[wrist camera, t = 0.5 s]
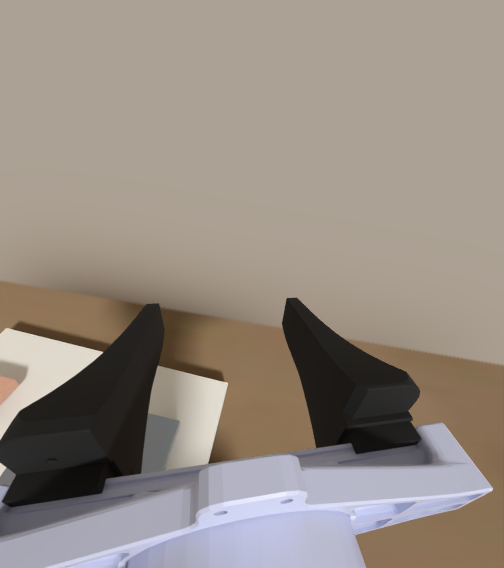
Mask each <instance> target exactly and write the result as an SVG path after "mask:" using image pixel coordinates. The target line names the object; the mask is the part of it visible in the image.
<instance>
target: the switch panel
mask: <svg viewBox="0 0 504 568" xmlns="http://www.w3.org/2000/svg"><path fill="white" fill-rule="evenodd" d="M102 353H103V352H101V351H97V350H93V349H89V348H85V347H81V346H77V345H73V344H69V343H65V342H61V341H57V340H53V339H49V338H45V337H40V336H36V335H32V334H28V333H24V332H20V331H16V330H12V329H8V328H6V329H5V330H4V331H3V332H2V333H1V334H0V376H2V377H6V378H10V379H14V380H16V381H17V383H18V384H19V386H18V387H17V388H16V389H15V390H14V391H13V392H12V393H11V394H10V395H9V396H8V397H7V398H6V400H5V401H4V402H3V403H2V404H1V405H0V440H1V438H2V436H3V435H4V433H5V432H6V430H7V428H8V427H9V425H10V424H11V422H12V421H13V419H14V418H15V416H16V415H17V414H18V412H19V411H20V410H22V409H23V408H25V407H27V406H28V405H30V404H32V403H33V402H35V401H37V400H38V399H40V398H42V397H43V396H45V395H47V394H48V393H50V392H51V391H53V390H55V389H56V388H58V387H59V386H61V385H62V384H64V383H65V382H66V381H68V380H69V379H71V378H72V377H74V376H75V375H76V374H78V373H79V372H80V371H81V370H83V369H84V368H85V367H87V366H88V365H89V364H90V363H92V362H93V361H94V360H95V359H96V358H98V357H99V356H100V355H101V354H102ZM227 386H228V383H226V382H222V381H218V380H214V379H209V378H205V377H201V376H197V375H193V374H189V373H185V372H181V371H177V370H173V369H169V368H165V367H161V366H158V367H157V370H156V374H155V378H154V382H153V386H152V391H151V397H150V404H149V410H148V414H149V413H150V414H154V415H158V416H162V417H166V418H170V419H174V420H178V421H180V427H179V430H178V432H177V435H176V438H175V441H174V443H173V446H172V449H171V452H170V454H169V457H168V460H167V463H166V465H165V468H164V470H170V469H177V468H184V467H191V466H198V465H205V464H208V462H209V458H210V454H211V450H212V446H213V442H214V438H215V434H216V430H217V426H218V422H219V418H220V414H221V410H222V406H223V402H224V398H225V394H226V390H227ZM5 469H6V467H5V466H4V465H3V464H1V463H0V476H1V475H2V473H3V472H4V470H5Z"/></svg>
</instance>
